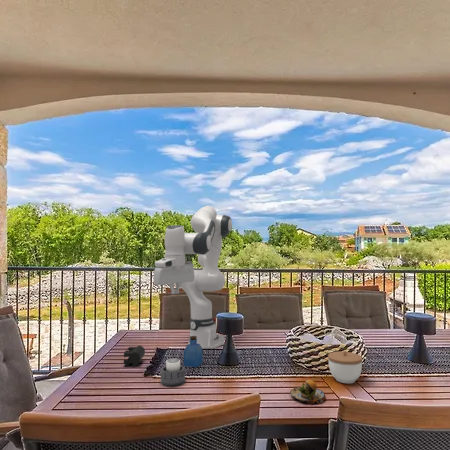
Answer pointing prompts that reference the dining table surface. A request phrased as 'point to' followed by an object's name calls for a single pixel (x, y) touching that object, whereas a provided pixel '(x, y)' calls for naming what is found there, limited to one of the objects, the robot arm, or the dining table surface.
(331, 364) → the lidded bowl
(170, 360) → the cap
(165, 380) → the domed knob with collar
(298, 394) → the burger
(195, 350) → the perfume bottle
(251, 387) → the dining table surface
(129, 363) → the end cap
